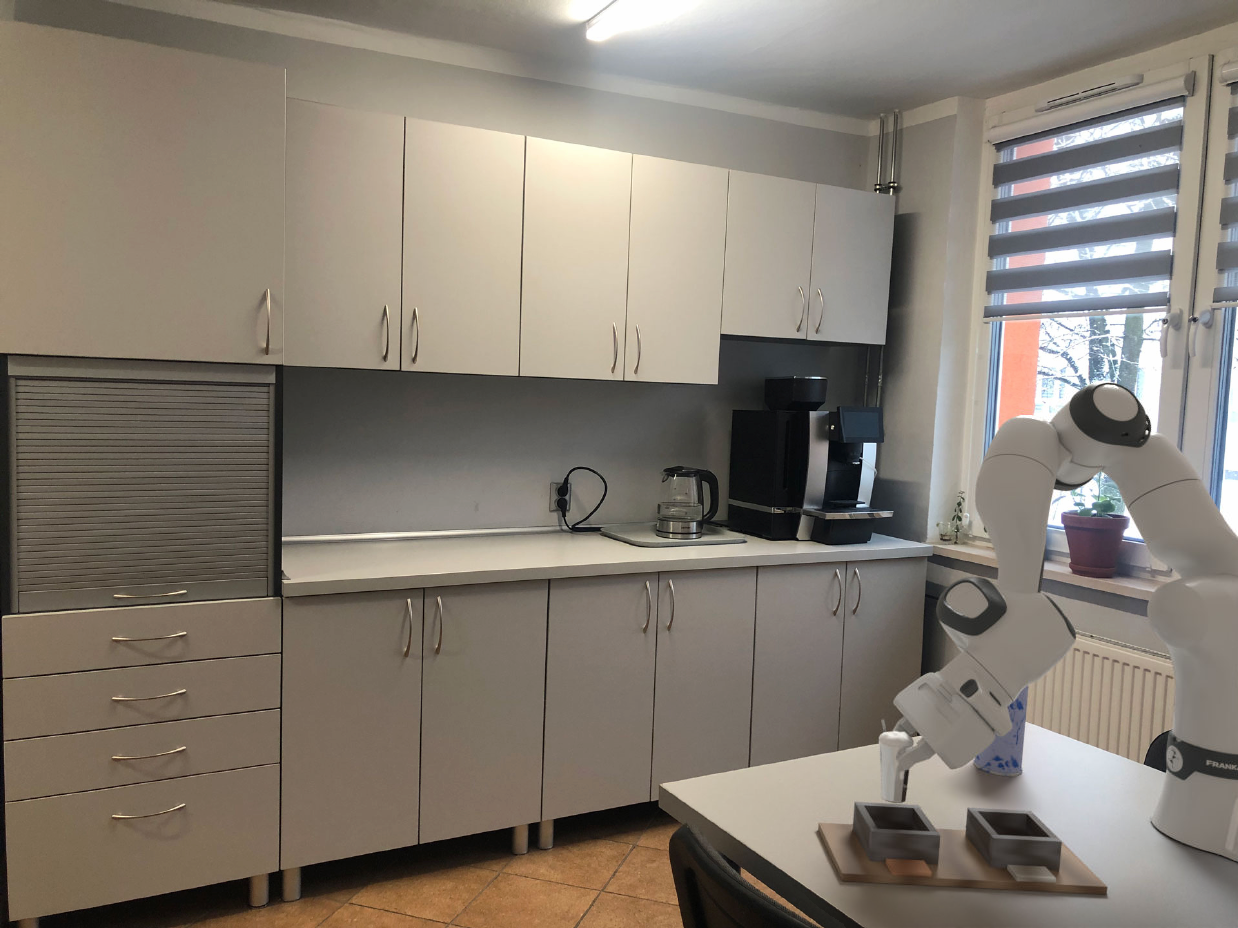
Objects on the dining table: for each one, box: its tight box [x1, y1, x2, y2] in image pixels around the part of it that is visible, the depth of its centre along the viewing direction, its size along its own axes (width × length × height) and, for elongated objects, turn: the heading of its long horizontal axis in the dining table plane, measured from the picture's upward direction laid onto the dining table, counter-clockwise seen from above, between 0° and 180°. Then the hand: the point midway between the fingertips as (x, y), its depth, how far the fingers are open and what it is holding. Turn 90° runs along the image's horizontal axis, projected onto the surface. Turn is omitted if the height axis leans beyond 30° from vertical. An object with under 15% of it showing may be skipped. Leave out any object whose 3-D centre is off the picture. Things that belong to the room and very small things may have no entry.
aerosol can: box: [973, 685, 1029, 777], centre depth 156 cm, size 8×8×20 cm
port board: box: [817, 801, 1108, 895], centre depth 123 cm, size 34×14×5 cm, turn 90°
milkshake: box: [878, 718, 915, 804], centre depth 124 cm, size 4×5×10 cm
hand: (893, 755), depth 124 cm, fingers closed on milkshake, 4 cm apart
